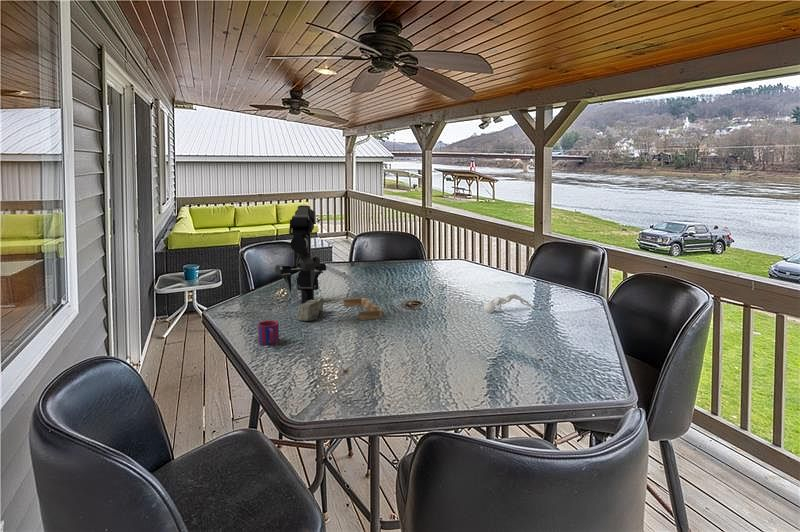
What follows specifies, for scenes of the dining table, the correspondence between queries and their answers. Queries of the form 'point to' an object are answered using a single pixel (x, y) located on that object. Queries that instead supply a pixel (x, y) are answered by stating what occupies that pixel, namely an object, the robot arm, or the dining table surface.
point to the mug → (268, 332)
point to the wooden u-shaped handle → (373, 309)
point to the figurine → (490, 306)
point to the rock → (310, 310)
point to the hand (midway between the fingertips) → (301, 290)
